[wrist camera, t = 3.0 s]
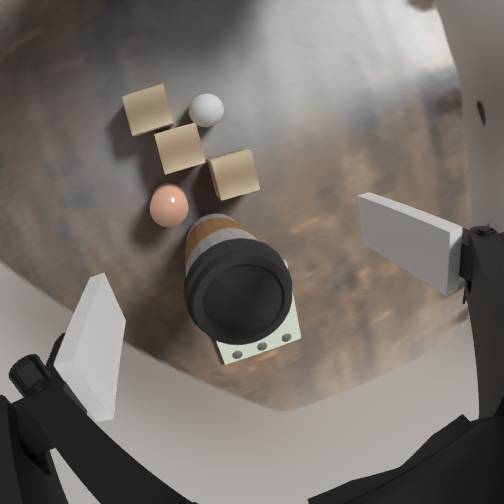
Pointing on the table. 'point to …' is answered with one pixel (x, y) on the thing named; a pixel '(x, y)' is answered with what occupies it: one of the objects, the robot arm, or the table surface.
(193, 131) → the maple cube
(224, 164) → the maple cube
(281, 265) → the coffee cup
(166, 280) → the table surface
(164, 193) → the pink rounded piece
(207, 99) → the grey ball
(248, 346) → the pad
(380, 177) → the table surface
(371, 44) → the table surface
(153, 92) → the maple cube
